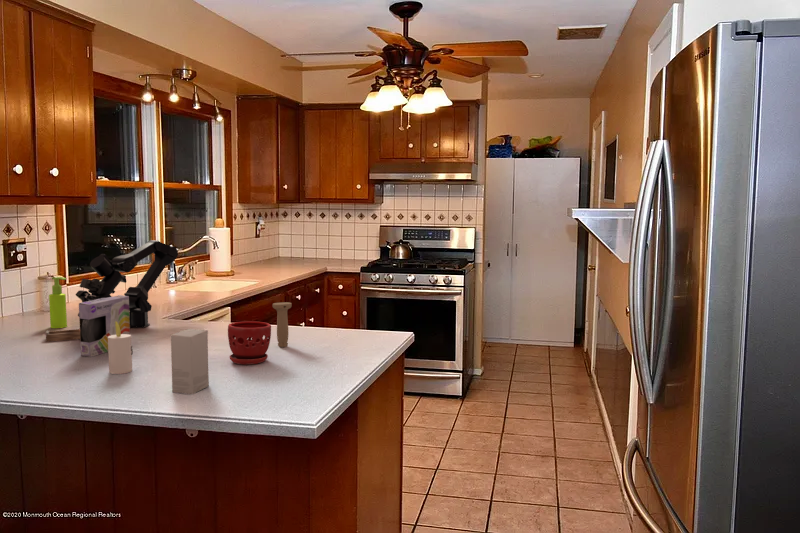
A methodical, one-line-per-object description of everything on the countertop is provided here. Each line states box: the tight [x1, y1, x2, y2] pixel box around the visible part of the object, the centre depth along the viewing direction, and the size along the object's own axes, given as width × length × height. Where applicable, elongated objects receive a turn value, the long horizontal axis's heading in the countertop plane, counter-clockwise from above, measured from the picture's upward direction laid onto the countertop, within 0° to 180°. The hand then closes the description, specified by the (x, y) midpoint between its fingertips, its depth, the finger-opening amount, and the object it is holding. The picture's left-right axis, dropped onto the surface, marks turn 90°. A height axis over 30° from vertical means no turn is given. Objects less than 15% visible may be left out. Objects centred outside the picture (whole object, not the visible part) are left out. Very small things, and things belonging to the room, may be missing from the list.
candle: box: [107, 321, 133, 375], centre depth 198 cm, size 6×6×15 cm
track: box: [45, 328, 80, 343], centre depth 247 cm, size 16×7×4 cm, turn 116°
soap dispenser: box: [48, 276, 68, 329], centre depth 268 cm, size 6×7×20 cm
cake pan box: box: [78, 294, 131, 358], centre depth 225 cm, size 19×5×18 cm, turn 160°
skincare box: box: [170, 328, 210, 395], centre depth 178 cm, size 8×7×16 cm
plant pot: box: [227, 321, 272, 366], centre depth 210 cm, size 13×13×12 cm
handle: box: [272, 301, 292, 348], centre depth 232 cm, size 5×6×15 cm
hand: (81, 317), depth 248 cm, fingers closed on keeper, 4 cm apart
